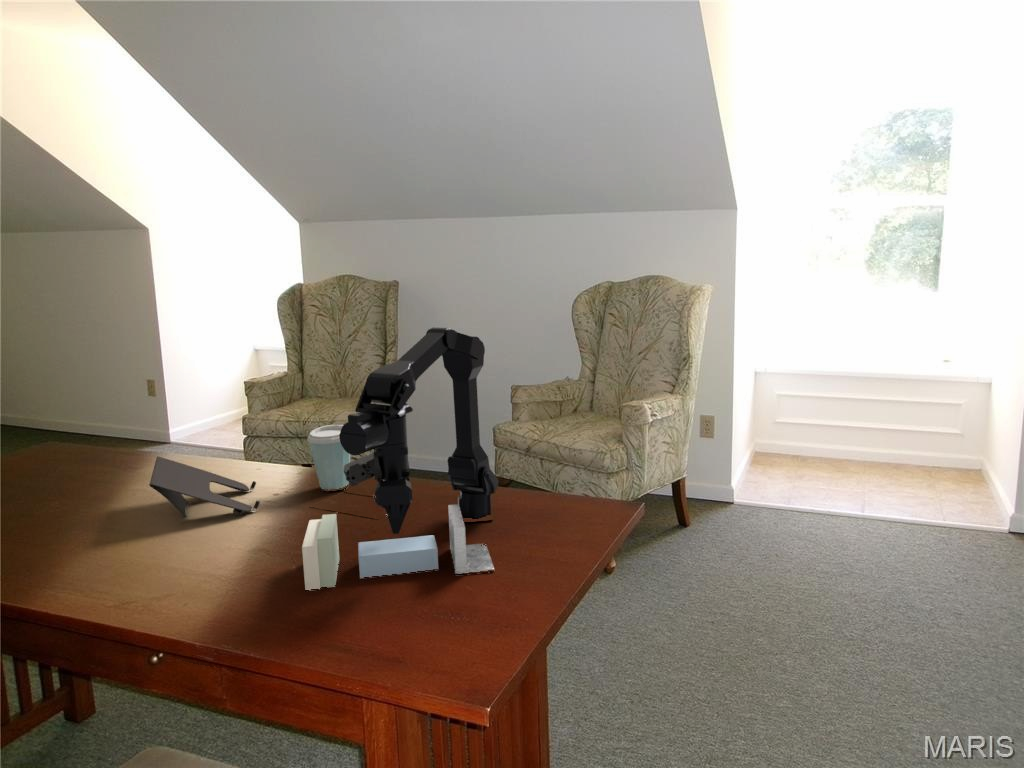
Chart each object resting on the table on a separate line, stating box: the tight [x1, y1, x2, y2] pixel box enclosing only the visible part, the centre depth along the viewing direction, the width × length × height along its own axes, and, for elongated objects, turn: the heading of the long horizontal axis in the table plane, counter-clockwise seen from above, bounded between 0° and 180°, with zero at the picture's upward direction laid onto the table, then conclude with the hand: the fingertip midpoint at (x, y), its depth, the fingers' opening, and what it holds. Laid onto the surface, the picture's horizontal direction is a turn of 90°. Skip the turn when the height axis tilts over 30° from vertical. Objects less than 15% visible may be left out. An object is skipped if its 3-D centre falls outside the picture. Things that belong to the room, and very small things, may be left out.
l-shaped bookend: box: [447, 503, 495, 574], centre depth 140 cm, size 7×12×9 cm, turn 9°
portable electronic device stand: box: [148, 456, 261, 518], centre depth 172 cm, size 23×23×9 cm
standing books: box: [301, 513, 340, 591], centre depth 135 cm, size 5×13×9 cm, turn 9°
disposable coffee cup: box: [307, 424, 351, 490], centre depth 183 cm, size 11×11×15 cm
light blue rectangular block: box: [358, 534, 439, 579], centre depth 138 cm, size 14×6×4 cm, turn 101°
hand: (395, 524), depth 137 cm, fingers open, 9 cm apart
